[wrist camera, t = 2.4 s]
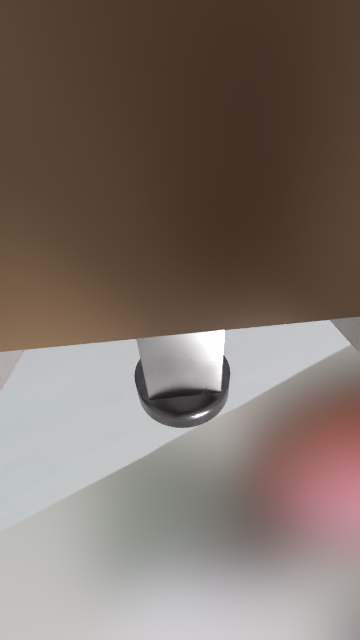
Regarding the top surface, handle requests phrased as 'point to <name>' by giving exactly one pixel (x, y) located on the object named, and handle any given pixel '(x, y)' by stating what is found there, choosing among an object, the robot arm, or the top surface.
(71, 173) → the bearing block
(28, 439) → the top surface
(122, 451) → the top surface
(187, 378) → the shaft
